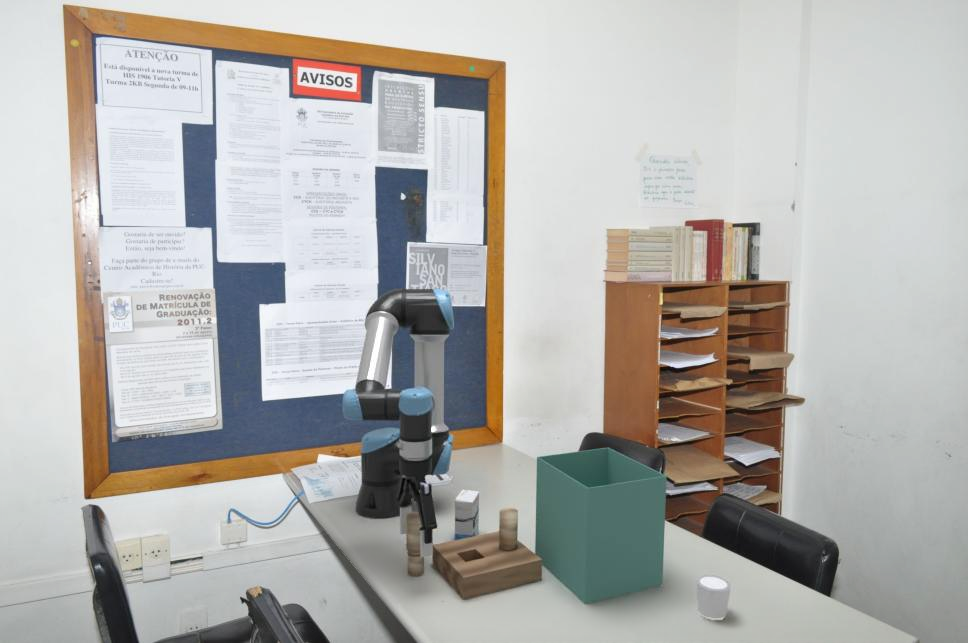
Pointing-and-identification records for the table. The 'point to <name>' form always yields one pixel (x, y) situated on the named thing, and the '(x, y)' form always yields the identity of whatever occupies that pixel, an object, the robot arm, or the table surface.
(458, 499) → the ink box
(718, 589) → the light grey short cylinder
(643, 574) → the box
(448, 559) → the seat board
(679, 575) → the table surface
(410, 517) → the beech leg
